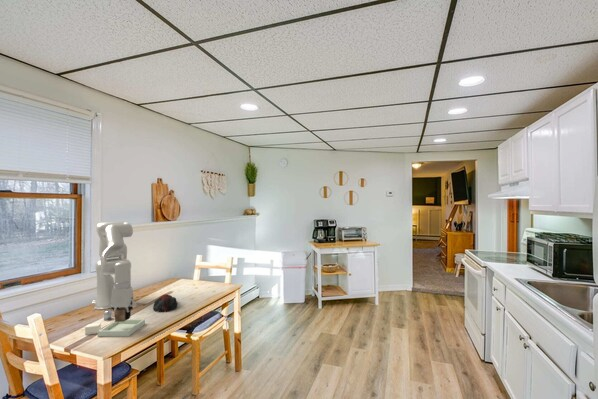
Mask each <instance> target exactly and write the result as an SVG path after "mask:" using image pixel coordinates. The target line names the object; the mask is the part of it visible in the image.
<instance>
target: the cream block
mask: <svg viewBox="0 0 598 399" xmlns="http://www.w3.org/2000/svg"><path fill="white" fill-rule="evenodd" d="M101 329H102V323H101V322H97V323H88V324H87V325H86V326H85V327H84V335H85V336H86V335H94V334H98V331H99V330H101Z"/></svg>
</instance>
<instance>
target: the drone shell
mask: <svg viewBox="0 0 598 399" xmlns="http://www.w3.org/2000/svg"><path fill="white" fill-rule="evenodd" d="M152 307H153V308H152V309H153V311H154V312H156V313H168V312H172V311H174V310H176V309H177V308H178V301H177V298H176V297H174V296H172V295H171V294H162V295H161V296H159V297H158V298H157V299H156V300H155V301H154V302H153V306H152Z"/></svg>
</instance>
